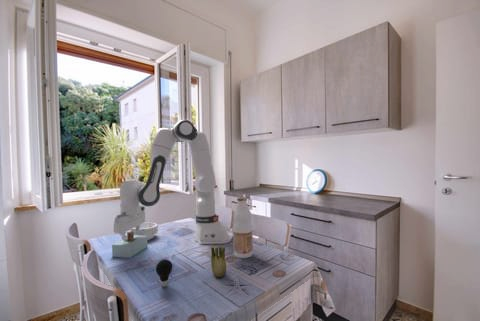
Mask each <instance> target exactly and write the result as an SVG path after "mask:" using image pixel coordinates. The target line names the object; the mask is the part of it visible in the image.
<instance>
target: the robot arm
mask: <svg viewBox="0 0 480 321" xmlns="http://www.w3.org/2000/svg"><path fill="white" fill-rule="evenodd" d="M176 142H177V143H183V142H187V143H188V145H189V148H190V157H191V161H192V167H193V172H194V177H195V178H194V179H195V182H194V184H195V203H196V205H195V206H196V215H195V225H196V227H195V235H194V238H193V239H194V241H195V242H197V243H198V244H199V245H215V244H216V245H218V244H219V245H221V244H228V243H229V242H231V240H232V239H233V234H232V233H230V232H229V228H228V227H227V225H226V224H223V223H222V222H221V221H220V220H219V217H220V214H218V215H217V214H216V199H215V191H214V190H215V188H216V186H217V183H216V182H217V181H216V177H215V173H214V172H215V171H214V167H213V163H212V157H211V153H210V152H211V151H210V146H209V141H208V138H207V136H206V134H205V133H204V132H201V131H198V129H197V128H196V127H195V125H194V124H193V123H192V122H191V121H190V120H188V119H181V120H179V121H178V122H176V123H175V125H174V126H173V127H172V128H166V127H161V128H159V129H158V130H157V131H156V134H155V136H154V138H153V139H152V143H151V146H150V150H149V161H150V171H149V174H148V176H147V179H146V183H145V182H143V181H140V180H138V179H136V178H131V179H130V178H129V179H126V180H124V181H122V182H121V183H120V186H119V198H120V206H119V208H120V213H119V214H117V215H116V216H115V217H114V221H113V232H114V234H116V235H120V236H121V240H124V241H125V240H127V232H129V231H131V229H132V228H134V227H136V230H135V231H134V232H135V234H138V233H139V229H140V224H143V223H146V207H153V206H155V205H156V204H157V203H159V201H160V199H161V192H160V185H161V181H162V176H163V173H164V170H165V167H166V165H167V164H168V161H169V159H170V157H171V154H172V151H173V148H174V145H175V143H176ZM140 204H141V205H140Z"/></svg>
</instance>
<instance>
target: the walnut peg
mask: <svg viewBox="0 0 480 321" xmlns="http://www.w3.org/2000/svg"><path fill="white" fill-rule="evenodd" d="M126 236H127V242H132V241H134V232H133V231H131V230H130V231H126Z"/></svg>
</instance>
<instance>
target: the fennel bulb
mask: <svg viewBox="0 0 480 321" xmlns="http://www.w3.org/2000/svg"><path fill="white" fill-rule="evenodd" d="M210 253H211V258H210V260H211V262H210V263H211V264H210V265H211V271H212V273H213V275H214V277H215V278H223V277H224V276H225V275H227V274H226V273H227V261H226V246H222V245H219V246H211V247H210Z"/></svg>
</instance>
